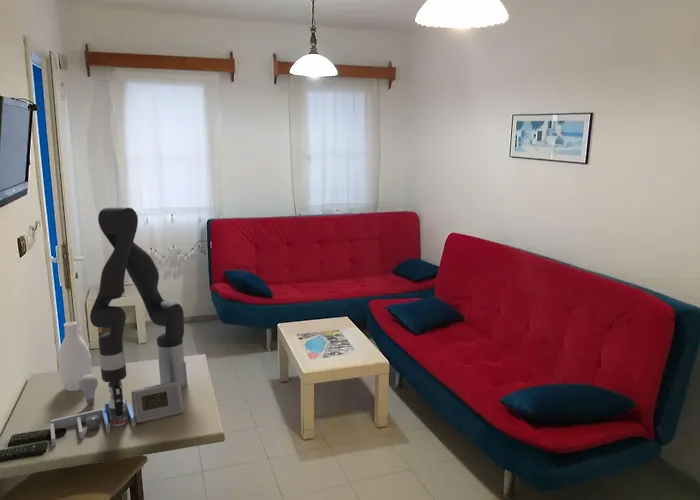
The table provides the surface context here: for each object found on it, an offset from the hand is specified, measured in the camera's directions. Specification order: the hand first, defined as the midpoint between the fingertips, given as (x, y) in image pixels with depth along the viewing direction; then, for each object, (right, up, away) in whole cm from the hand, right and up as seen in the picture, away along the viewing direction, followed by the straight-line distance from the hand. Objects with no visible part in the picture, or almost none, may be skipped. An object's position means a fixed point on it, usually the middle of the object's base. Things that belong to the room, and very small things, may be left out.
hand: (117, 409), depth 183 cm
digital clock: (+12, -4, +5) cm, 14 cm away
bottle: (-27, +1, +28) cm, 39 cm away
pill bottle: (0, -5, +1) cm, 5 cm away
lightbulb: (-16, -2, +14) cm, 21 cm away
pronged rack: (-7, -5, -2) cm, 9 cm away
